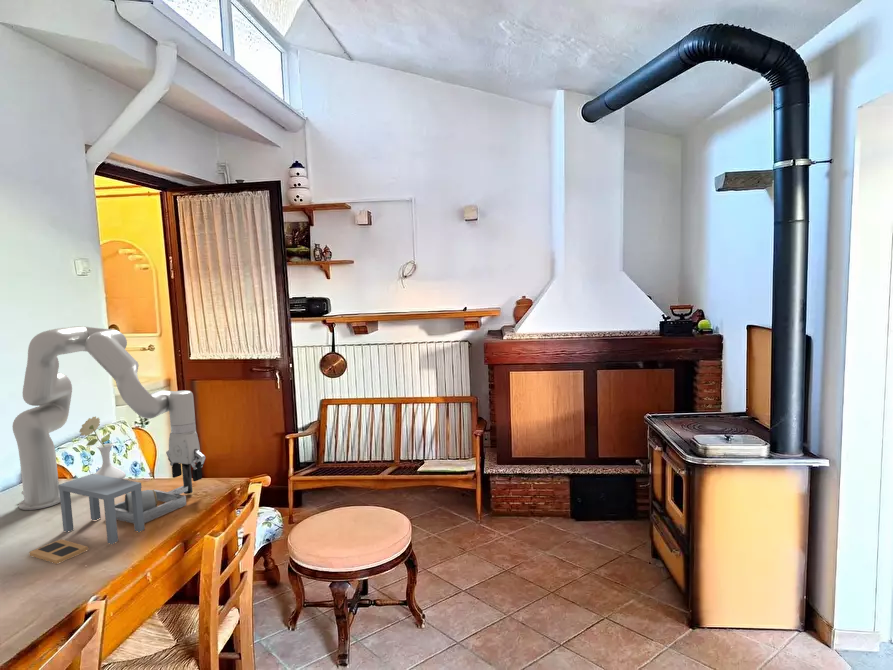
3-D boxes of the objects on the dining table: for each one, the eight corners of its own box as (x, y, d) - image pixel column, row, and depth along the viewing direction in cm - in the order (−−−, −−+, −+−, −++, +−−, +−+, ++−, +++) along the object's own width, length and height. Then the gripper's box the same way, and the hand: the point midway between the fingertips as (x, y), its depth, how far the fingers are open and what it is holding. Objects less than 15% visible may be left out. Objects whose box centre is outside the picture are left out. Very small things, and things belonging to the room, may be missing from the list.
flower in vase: (117, 475, 211) (111, 409, 208) (132, 480, 204) (126, 413, 202) (78, 486, 200) (72, 417, 198) (93, 492, 193) (86, 421, 191)
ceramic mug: (159, 514, 172) (157, 490, 172) (129, 522, 167) (127, 497, 166) (152, 505, 180) (150, 482, 180) (123, 512, 175) (121, 488, 175)
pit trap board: (29, 555, 148) (29, 551, 148) (61, 542, 155) (60, 538, 155) (56, 564, 143) (56, 560, 143) (88, 550, 150) (87, 546, 150)
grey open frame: (107, 517, 170) (104, 483, 169) (176, 489, 192) (173, 459, 191) (140, 525, 164) (137, 490, 163) (207, 495, 186) (205, 464, 185)
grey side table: (62, 531, 162) (58, 484, 161) (97, 518, 171) (92, 473, 170) (111, 544, 153) (107, 495, 151) (145, 529, 162) (141, 482, 160)
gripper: (155, 428, 186) (159, 478, 188) (192, 433, 179) (196, 485, 180) (175, 423, 193) (179, 471, 194) (211, 427, 185) (214, 477, 187)
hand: (187, 478), depth 187 cm, fingers open, 9 cm apart
